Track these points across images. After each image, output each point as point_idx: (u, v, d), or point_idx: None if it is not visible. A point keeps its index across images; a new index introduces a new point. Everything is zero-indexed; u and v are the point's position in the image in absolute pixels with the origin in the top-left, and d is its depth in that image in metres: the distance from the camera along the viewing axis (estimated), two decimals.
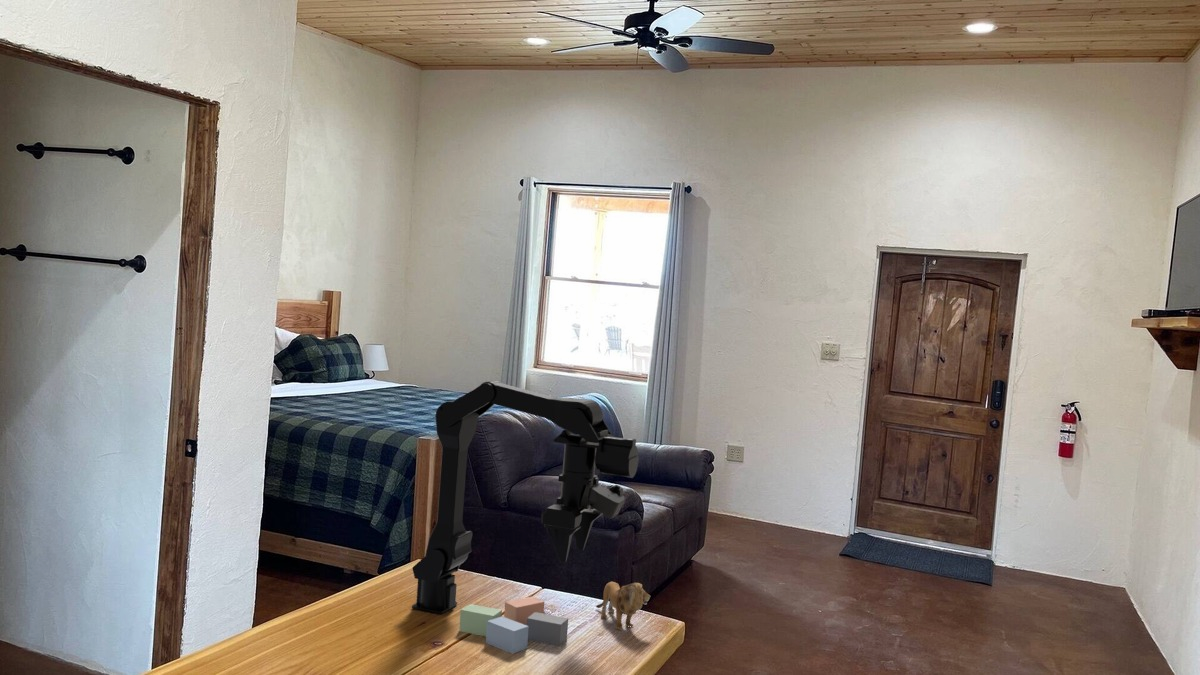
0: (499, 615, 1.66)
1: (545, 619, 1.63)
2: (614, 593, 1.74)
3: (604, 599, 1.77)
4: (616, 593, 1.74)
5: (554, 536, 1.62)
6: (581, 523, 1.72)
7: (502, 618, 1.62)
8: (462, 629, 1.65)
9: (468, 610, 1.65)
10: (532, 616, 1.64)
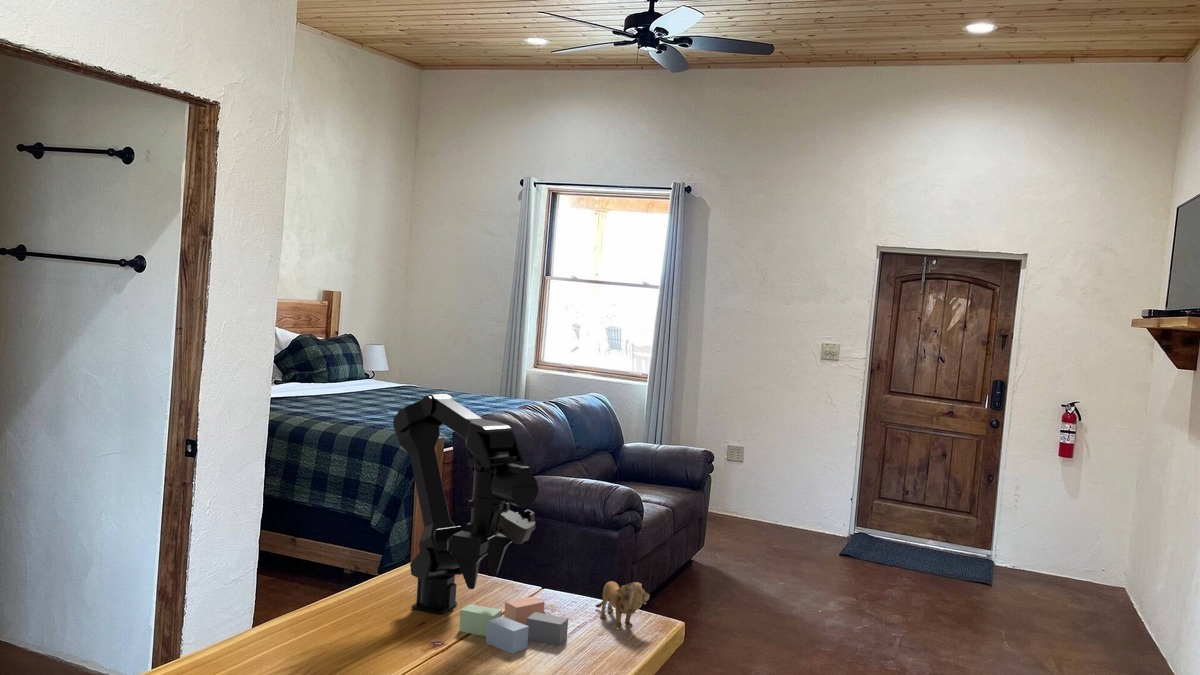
0: (499, 615, 1.66)
1: (545, 620, 1.63)
2: (613, 593, 1.74)
3: (603, 599, 1.78)
4: (615, 593, 1.74)
5: (461, 563, 1.60)
6: (495, 548, 1.70)
7: (502, 618, 1.62)
8: (462, 629, 1.65)
9: (468, 610, 1.65)
10: (532, 616, 1.64)
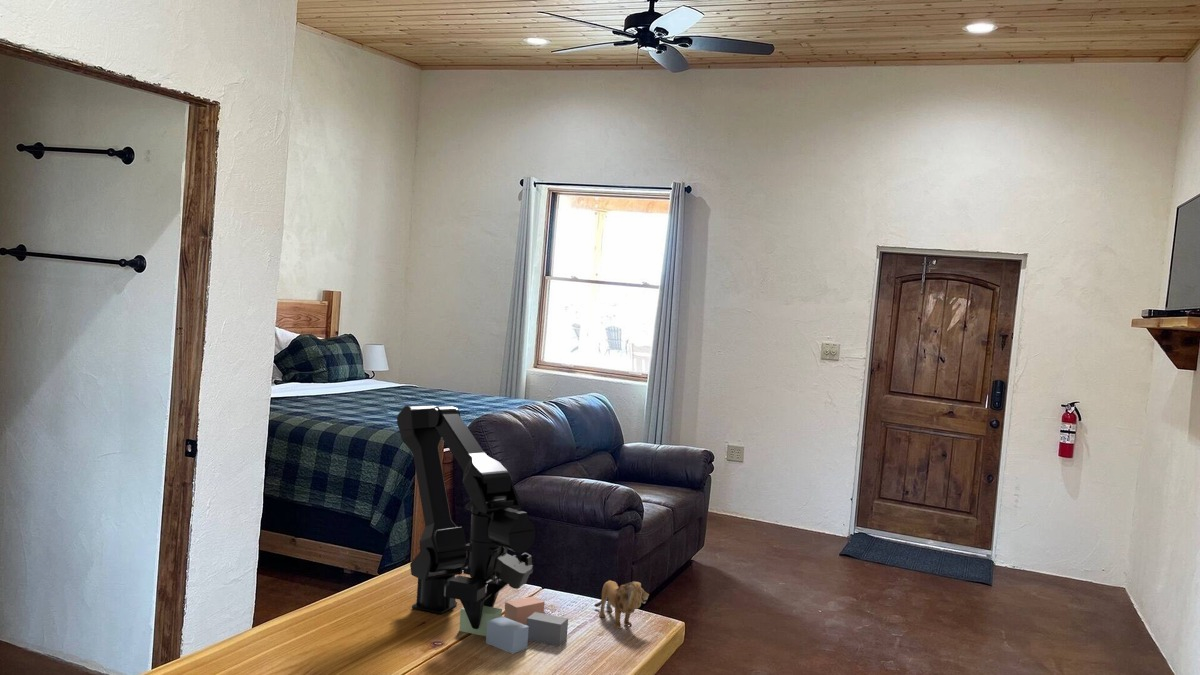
0: (499, 614, 1.66)
1: (545, 620, 1.63)
2: (612, 592, 1.75)
3: (602, 598, 1.78)
4: (615, 592, 1.74)
5: (466, 603, 1.63)
6: None
7: (502, 618, 1.62)
8: (462, 628, 1.65)
9: None
10: (532, 616, 1.64)
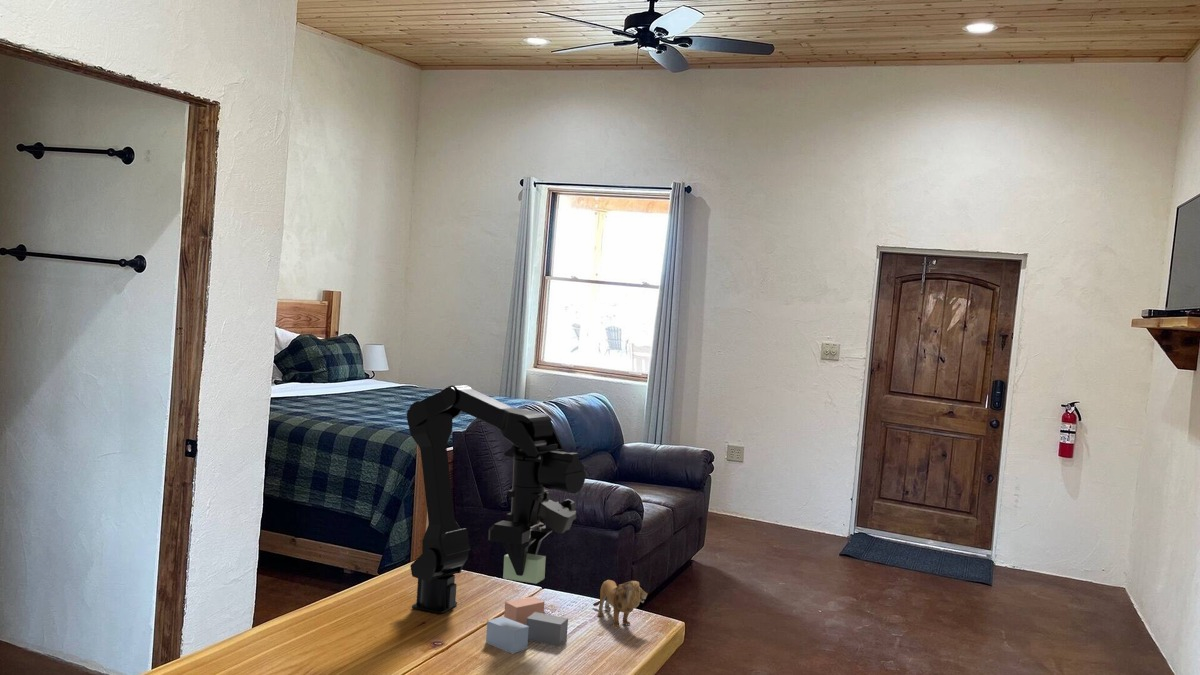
0: (543, 561, 1.64)
1: (545, 620, 1.63)
2: (611, 591, 1.75)
3: (601, 597, 1.79)
4: (613, 591, 1.75)
5: (510, 549, 1.61)
6: None
7: (502, 618, 1.62)
8: (506, 575, 1.63)
9: None
10: (532, 616, 1.64)
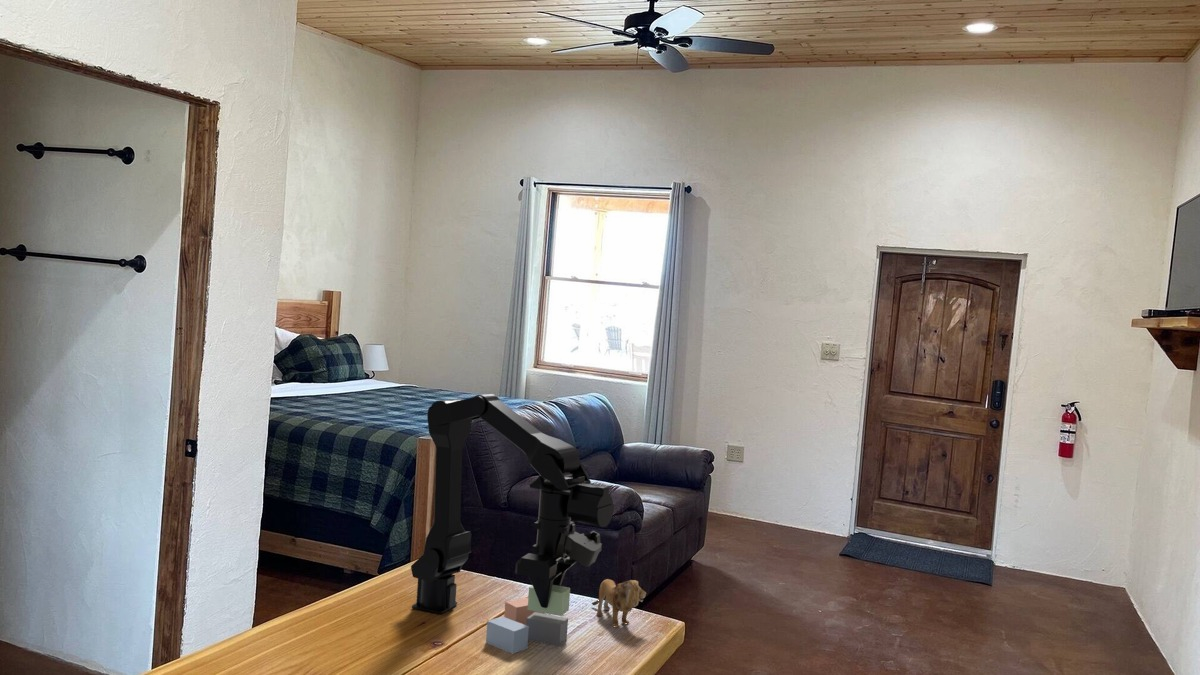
0: (567, 593, 1.63)
1: (545, 619, 1.63)
2: (610, 591, 1.76)
3: (600, 596, 1.79)
4: (612, 590, 1.75)
5: (535, 582, 1.61)
6: None
7: (502, 618, 1.62)
8: (530, 607, 1.63)
9: None
10: (532, 616, 1.64)
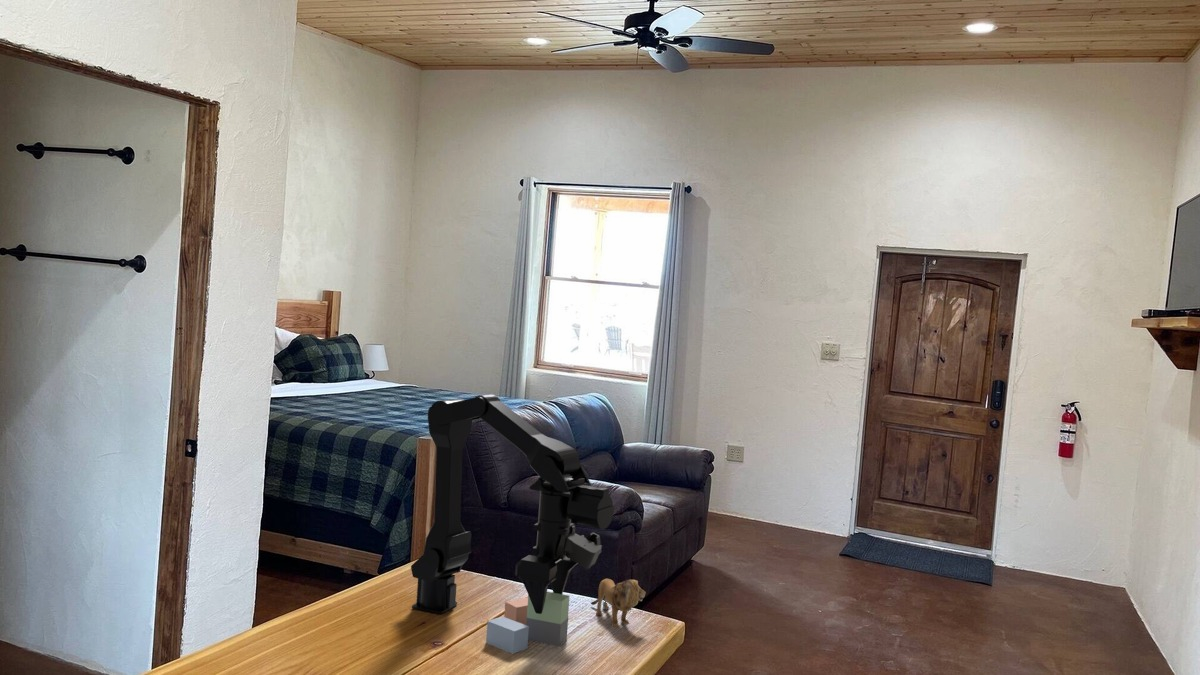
0: (567, 601, 1.63)
1: None
2: (609, 590, 1.76)
3: (599, 596, 1.79)
4: (612, 590, 1.75)
5: (529, 587, 1.58)
6: (558, 571, 1.68)
7: (502, 618, 1.62)
8: (530, 615, 1.63)
9: None
10: None
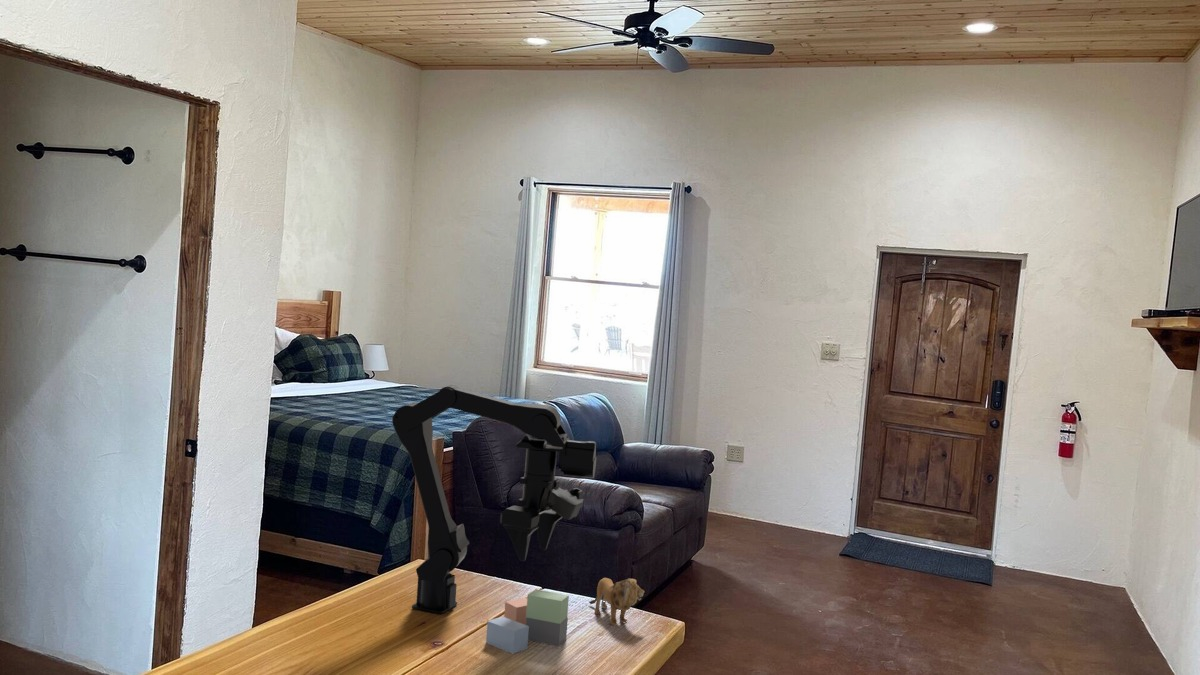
0: (566, 600, 1.64)
1: None
2: (608, 589, 1.76)
3: (598, 595, 1.80)
4: (610, 589, 1.76)
5: (513, 536, 1.69)
6: (544, 524, 1.79)
7: (502, 618, 1.62)
8: (529, 614, 1.63)
9: (535, 595, 1.63)
10: None
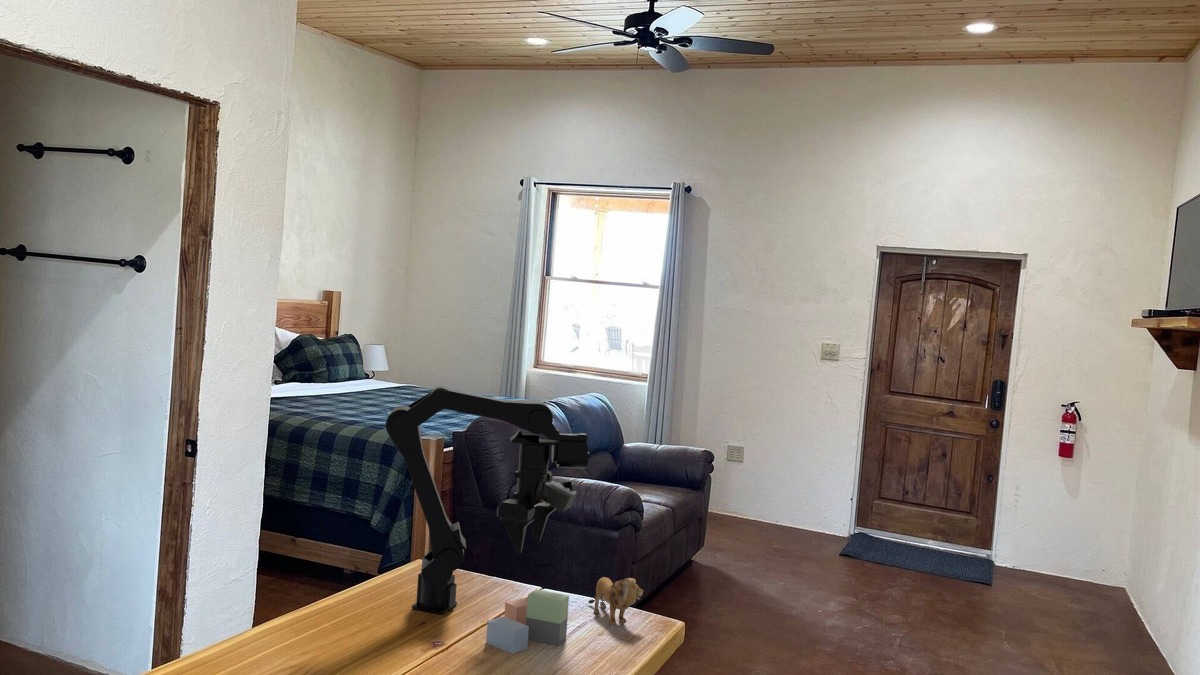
0: (566, 600, 1.64)
1: None
2: (607, 589, 1.77)
3: (597, 594, 1.80)
4: (609, 588, 1.76)
5: (510, 528, 1.74)
6: (538, 516, 1.84)
7: (502, 618, 1.62)
8: (529, 615, 1.63)
9: (535, 595, 1.63)
10: None
